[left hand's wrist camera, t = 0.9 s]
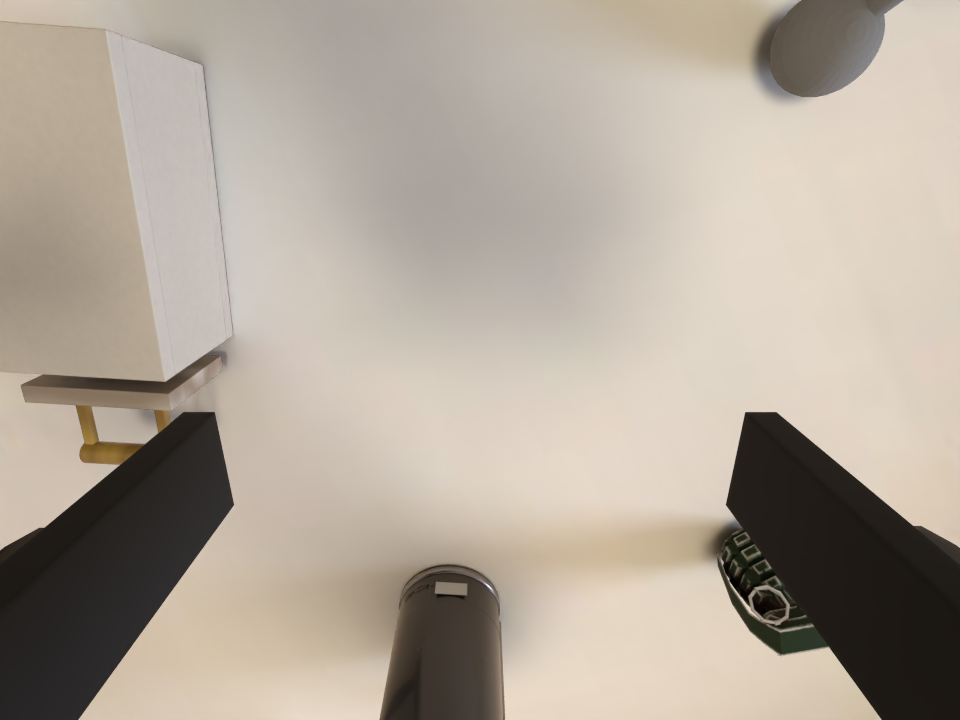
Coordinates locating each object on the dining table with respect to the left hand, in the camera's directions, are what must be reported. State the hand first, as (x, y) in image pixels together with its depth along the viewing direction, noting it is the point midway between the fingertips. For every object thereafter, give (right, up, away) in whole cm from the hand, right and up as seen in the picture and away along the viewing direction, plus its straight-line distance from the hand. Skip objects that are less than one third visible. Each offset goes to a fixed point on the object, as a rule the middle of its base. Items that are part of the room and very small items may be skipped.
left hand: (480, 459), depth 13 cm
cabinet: (-23, +13, +23) cm, 35 cm away
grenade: (+23, -14, +33) cm, 43 cm away
